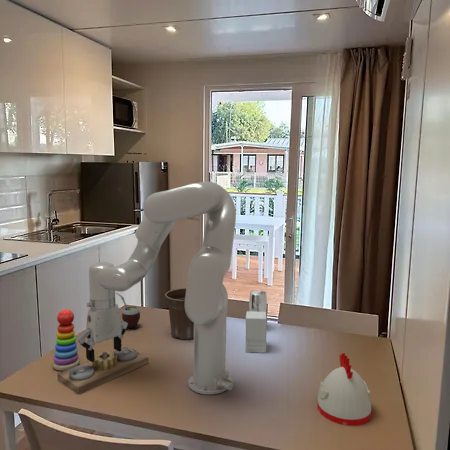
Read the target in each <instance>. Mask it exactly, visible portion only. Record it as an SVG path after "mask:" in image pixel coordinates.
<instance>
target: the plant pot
mask: <svg viewBox="0 0 450 450" xmlns="http://www.w3.org/2000/svg"><path fill="white" fill-rule="evenodd" d="M186 288H187V287H181V288H180V287H179V288H175V289H172V290H169V291H167V292H165V294H164V296H165V298H166V303H167V307H168V312H169V313H168V314H169V324H170V334H171V336H172V337H173V338H175V339H177V338H179V339H180V340H192V339H193V340H194V322H192V321H191V320H190V319H189V318H188V316H187V314H186V311H185V295H186Z"/></svg>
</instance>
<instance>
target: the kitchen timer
mask: <svg viewBox="0 0 450 450" xmlns="http://www.w3.org/2000/svg"><path fill="white" fill-rule="evenodd" d="M339 365H340V366H339V367H337V368H335V369H333V370H332V371H330V373H329V374H327V376H326V377H325V378H324V380H323V381H321V380H320V383H319V387H318V396H317V400H316V403H317V405H316V407H317V411H318V412H319V414H320V415H322V416H323V417H324V418H325V419H327V420H329V421H331V422H333V423H336V424H339V425H344V426H360V425H364V424H365V423H367V422H369V421H370V419H371V417H372V402H371V390H369V387H368V385H367V383H366V381H365V380H364V379H363V377H361V375H360V374H359V373H358V372H357V371H355V370H354V369H353V368H352V365H351V364H350V358H349V357H348V355H346V353H345V352H343V353H341V354H340V355H339Z"/></svg>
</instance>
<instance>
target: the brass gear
mask: <svg viewBox="0 0 450 450" xmlns="http://www.w3.org/2000/svg"><path fill="white" fill-rule="evenodd" d="M103 352H107V358H102V353H103ZM94 357H95V361H94V362H92V364H93V368H94V369H95V370H96V369H98V371H101V370H104V371H107V369H113V367H116V366H117V365H116V364H117V354H115V352H114V351H110V350H108V351H105V350H104V351H102V352H97V353H96V354H94Z"/></svg>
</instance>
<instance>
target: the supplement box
mask: <svg viewBox="0 0 450 450" xmlns="http://www.w3.org/2000/svg"><path fill="white" fill-rule="evenodd" d="M267 318H268V317H267V311H266V312H255V311H250V310H247V311H246V313H245V353H260V354H261V353H263V354H266V353H267Z"/></svg>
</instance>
